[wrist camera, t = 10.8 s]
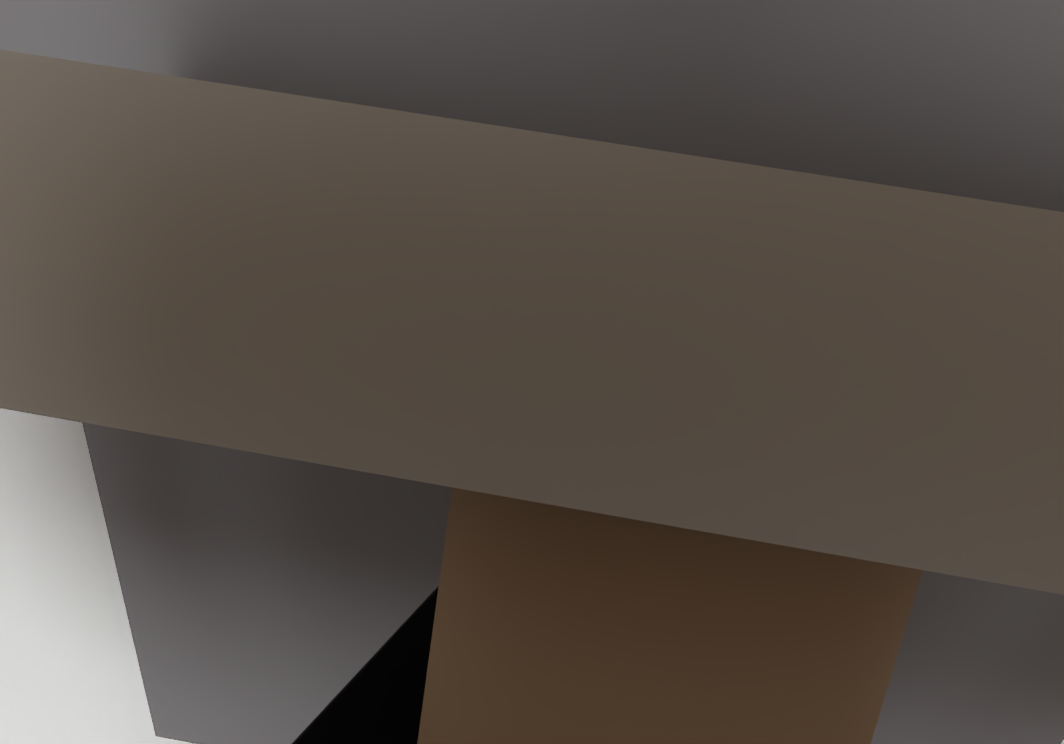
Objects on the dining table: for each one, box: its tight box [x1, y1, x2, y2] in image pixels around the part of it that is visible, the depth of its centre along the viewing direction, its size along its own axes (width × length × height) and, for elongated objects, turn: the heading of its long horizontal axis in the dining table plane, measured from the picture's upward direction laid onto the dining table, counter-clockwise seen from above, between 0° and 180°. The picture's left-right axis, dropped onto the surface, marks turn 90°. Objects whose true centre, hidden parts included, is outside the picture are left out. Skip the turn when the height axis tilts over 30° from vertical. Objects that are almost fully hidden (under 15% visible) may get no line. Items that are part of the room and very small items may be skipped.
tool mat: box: [0, 0, 1064, 744], centre depth 10 cm, size 20×16×1 cm
